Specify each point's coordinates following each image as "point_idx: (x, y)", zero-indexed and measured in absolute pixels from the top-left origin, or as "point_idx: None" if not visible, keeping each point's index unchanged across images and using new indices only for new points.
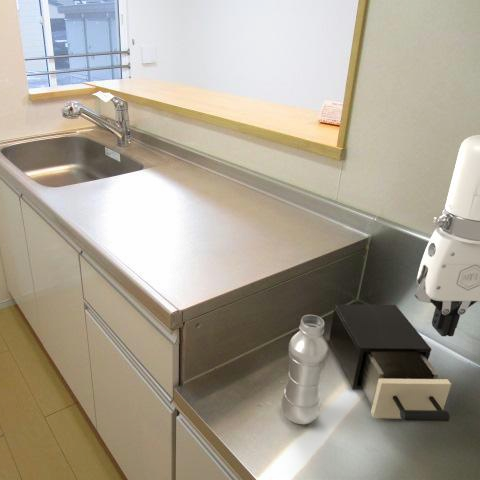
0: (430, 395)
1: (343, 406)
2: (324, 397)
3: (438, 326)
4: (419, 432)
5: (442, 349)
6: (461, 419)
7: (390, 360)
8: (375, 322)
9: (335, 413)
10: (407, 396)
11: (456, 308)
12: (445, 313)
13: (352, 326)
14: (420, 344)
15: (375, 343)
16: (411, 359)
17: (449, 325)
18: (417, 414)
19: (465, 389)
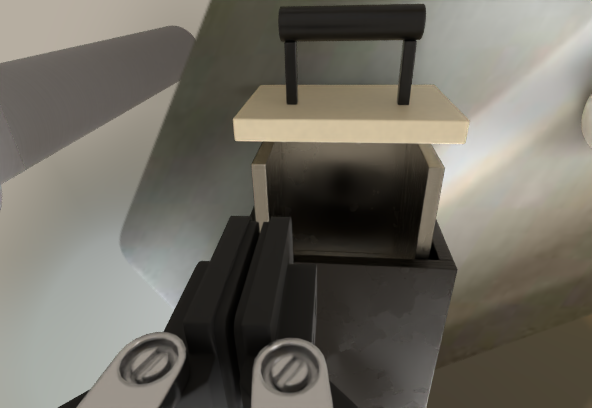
0: (294, 105)
1: (478, 134)
2: (511, 163)
3: (310, 271)
4: (324, 49)
5: (161, 296)
6: (203, 95)
7: None
8: (344, 362)
9: (514, 110)
10: (363, 104)
11: (183, 392)
12: (286, 351)
13: (424, 352)
14: None
15: (395, 286)
16: None
17: (255, 264)
18: (382, 13)
19: (157, 186)
